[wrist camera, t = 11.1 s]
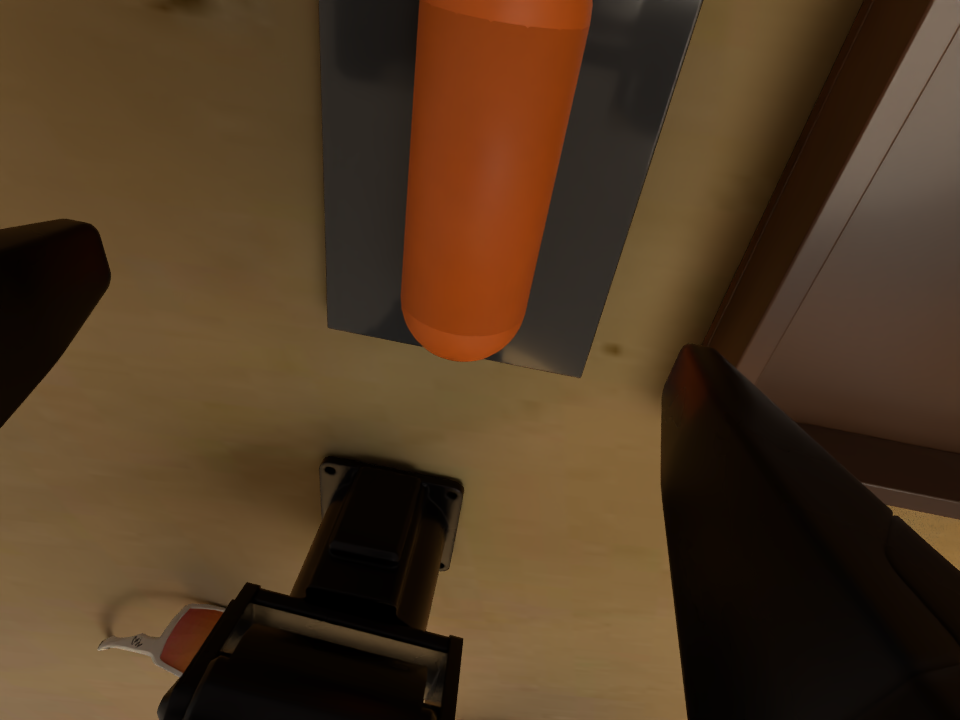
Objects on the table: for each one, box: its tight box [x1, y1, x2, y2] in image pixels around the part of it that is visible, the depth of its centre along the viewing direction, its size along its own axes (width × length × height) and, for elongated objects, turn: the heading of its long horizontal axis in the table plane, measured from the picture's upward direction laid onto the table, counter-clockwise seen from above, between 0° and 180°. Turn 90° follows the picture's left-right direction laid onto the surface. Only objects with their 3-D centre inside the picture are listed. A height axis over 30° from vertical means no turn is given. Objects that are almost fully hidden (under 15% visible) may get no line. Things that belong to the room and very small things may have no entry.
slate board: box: [319, 0, 703, 378], centre depth 16 cm, size 14×9×1 cm, turn 172°
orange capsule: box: [401, 0, 593, 362], centre depth 14 cm, size 11×4×4 cm, turn 172°
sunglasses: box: [98, 604, 226, 678], centre depth 39 cm, size 14×15×5 cm
